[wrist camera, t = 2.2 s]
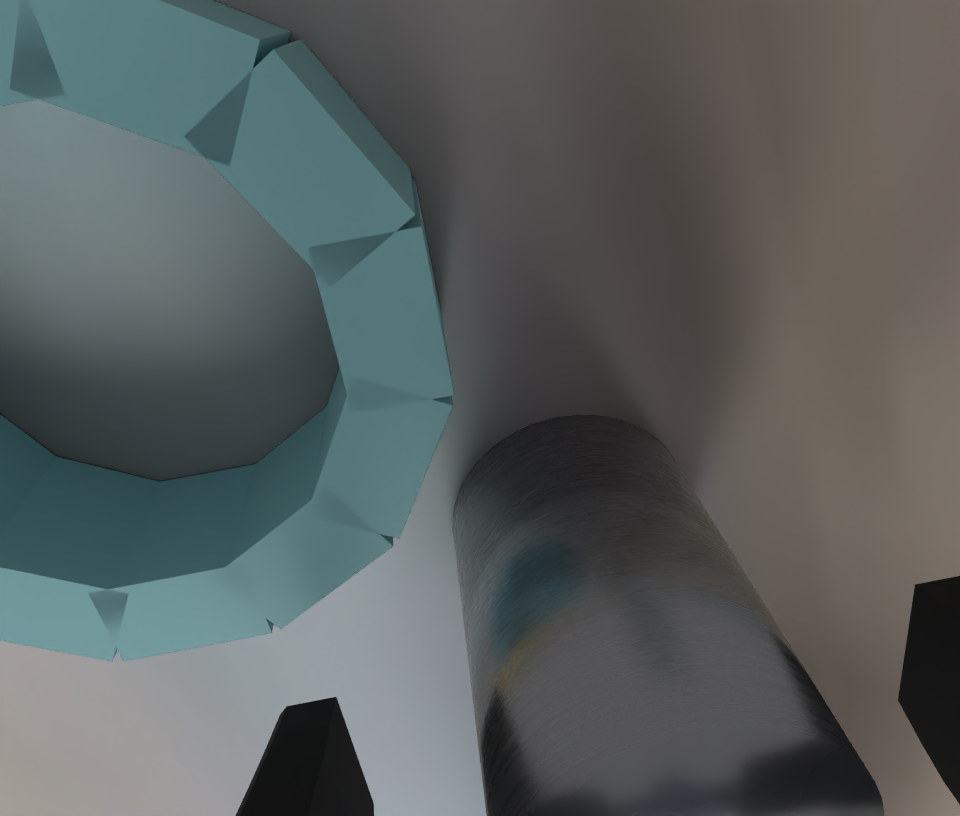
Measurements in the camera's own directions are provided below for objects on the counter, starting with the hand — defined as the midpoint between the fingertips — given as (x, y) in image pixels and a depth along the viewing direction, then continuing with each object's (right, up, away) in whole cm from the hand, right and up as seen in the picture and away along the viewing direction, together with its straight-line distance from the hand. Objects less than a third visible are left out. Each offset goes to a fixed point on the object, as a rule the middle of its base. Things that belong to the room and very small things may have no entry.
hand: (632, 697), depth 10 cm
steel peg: (0, +2, +3) cm, 4 cm away
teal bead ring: (-7, +5, +1) cm, 8 cm away
